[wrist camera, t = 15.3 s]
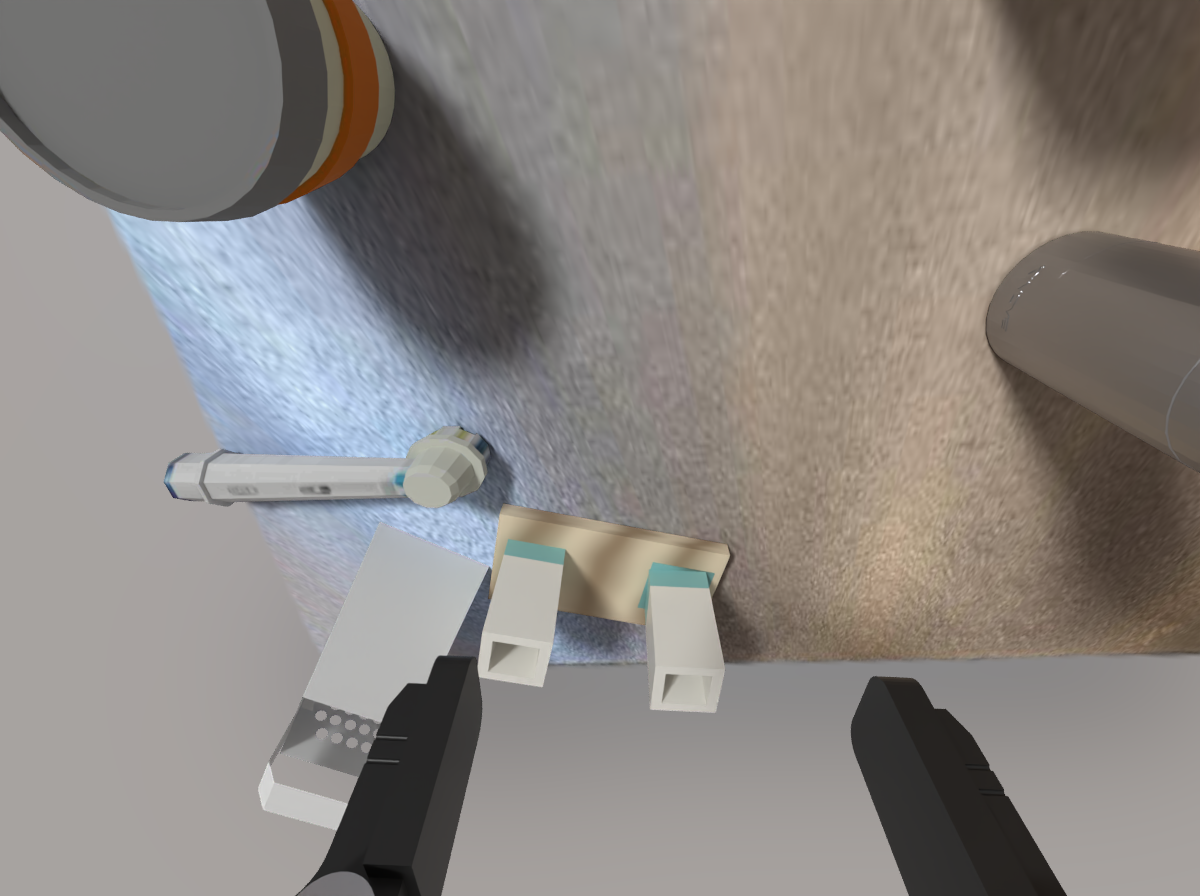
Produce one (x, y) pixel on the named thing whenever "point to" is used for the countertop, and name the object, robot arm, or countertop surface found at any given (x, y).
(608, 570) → the pin board
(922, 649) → the countertop surface
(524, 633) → the seated sleeve
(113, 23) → the reusable coffee cup
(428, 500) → the electric toothbrush
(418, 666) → the grater
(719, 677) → the sleeve
